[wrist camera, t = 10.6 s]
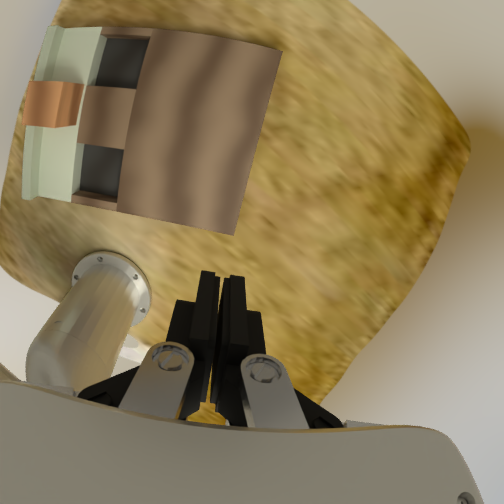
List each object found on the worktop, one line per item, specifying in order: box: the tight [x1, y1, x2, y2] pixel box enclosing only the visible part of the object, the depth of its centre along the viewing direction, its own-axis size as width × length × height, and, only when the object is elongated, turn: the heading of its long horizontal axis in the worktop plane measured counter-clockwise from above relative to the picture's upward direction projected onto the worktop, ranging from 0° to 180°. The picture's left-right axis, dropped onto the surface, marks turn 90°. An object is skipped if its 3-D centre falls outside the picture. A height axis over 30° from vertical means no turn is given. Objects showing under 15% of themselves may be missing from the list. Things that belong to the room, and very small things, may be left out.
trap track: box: [71, 27, 283, 236], centre depth 31 cm, size 21×22×2 cm
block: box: [22, 81, 85, 128], centre depth 26 cm, size 5×5×5 cm
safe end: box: [22, 25, 107, 202], centre depth 28 cm, size 7×22×4 cm, turn 166°
